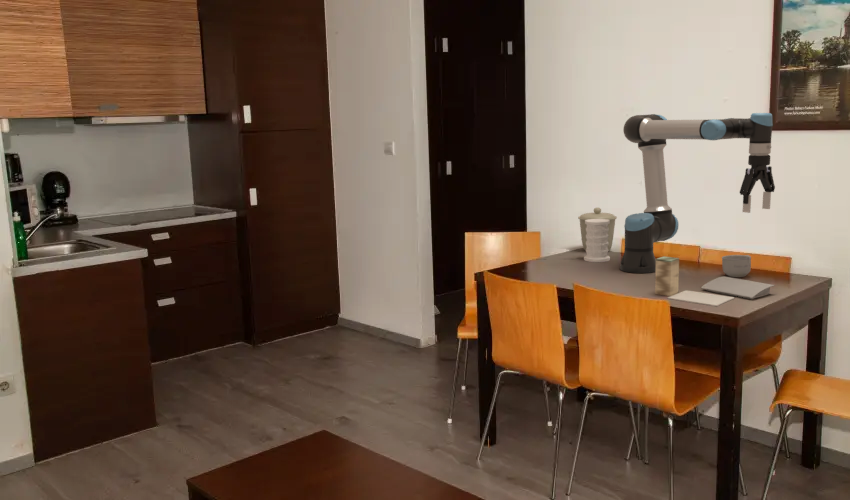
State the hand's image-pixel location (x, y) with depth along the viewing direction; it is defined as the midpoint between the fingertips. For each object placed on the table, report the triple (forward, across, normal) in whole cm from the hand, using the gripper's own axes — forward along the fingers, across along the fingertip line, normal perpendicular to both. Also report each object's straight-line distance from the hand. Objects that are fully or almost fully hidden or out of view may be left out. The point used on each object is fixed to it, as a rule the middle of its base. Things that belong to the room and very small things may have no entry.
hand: (756, 210), depth 285 cm
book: (+28, -21, -7) cm, 35 cm away
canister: (+29, +8, +85) cm, 90 cm away
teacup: (+28, +4, +8) cm, 29 cm away
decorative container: (+28, -10, +70) cm, 76 cm away
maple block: (+27, -41, +9) cm, 50 cm away
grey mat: (+27, -39, -3) cm, 47 cm away
